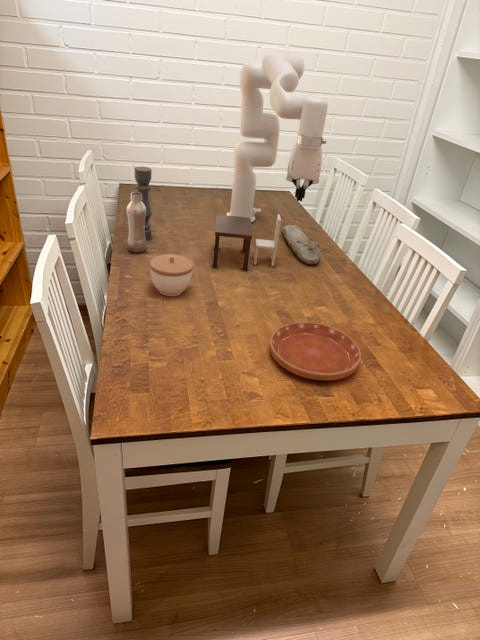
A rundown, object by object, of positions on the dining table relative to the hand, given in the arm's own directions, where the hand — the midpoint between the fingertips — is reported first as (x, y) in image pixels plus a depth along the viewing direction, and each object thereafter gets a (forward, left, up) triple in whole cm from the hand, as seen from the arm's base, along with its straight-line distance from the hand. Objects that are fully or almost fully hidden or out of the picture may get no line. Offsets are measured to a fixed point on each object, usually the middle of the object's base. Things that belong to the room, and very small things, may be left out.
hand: (299, 199), depth 156 cm
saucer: (+31, +46, -24) cm, 60 cm away
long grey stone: (-15, -11, -24) cm, 30 cm away
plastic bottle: (+44, -30, -24) cm, 58 cm away
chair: (+7, -5, -24) cm, 25 cm away
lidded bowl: (+47, 0, -24) cm, 52 cm away
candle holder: (+37, -40, -24) cm, 59 cm away
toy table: (+17, -12, -24) cm, 31 cm away
